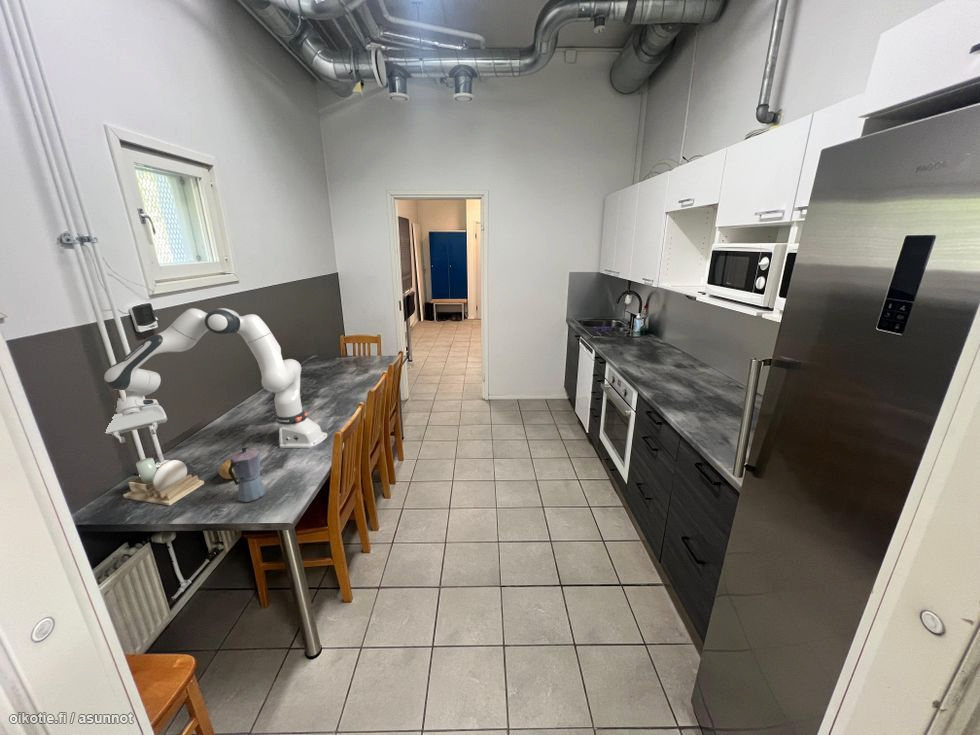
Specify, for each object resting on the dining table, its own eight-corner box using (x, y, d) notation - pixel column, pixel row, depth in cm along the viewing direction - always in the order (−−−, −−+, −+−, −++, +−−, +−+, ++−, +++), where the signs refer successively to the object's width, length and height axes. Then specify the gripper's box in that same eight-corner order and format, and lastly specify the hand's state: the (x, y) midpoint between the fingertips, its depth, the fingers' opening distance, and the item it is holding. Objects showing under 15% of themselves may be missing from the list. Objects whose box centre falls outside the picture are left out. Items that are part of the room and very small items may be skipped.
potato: (258, 464, 166) (254, 448, 164) (240, 483, 153) (236, 466, 150) (234, 466, 166) (230, 449, 163) (215, 485, 152) (210, 468, 150)
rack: (204, 483, 153) (196, 454, 149) (169, 505, 141) (159, 474, 136) (161, 476, 158) (152, 448, 154) (124, 497, 145) (113, 467, 141)
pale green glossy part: (164, 482, 152) (156, 458, 149) (151, 490, 147) (142, 465, 144) (154, 481, 153) (146, 457, 150) (140, 488, 149) (132, 464, 145)
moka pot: (275, 483, 153) (265, 439, 146) (253, 509, 138) (242, 460, 132) (251, 484, 152) (240, 440, 146) (227, 510, 138) (214, 461, 132)
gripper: (93, 412, 147) (100, 444, 144) (161, 398, 161) (169, 426, 157) (97, 419, 152) (104, 450, 148) (163, 405, 165) (171, 432, 161)
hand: (138, 437), depth 153 cm, fingers open, 8 cm apart
